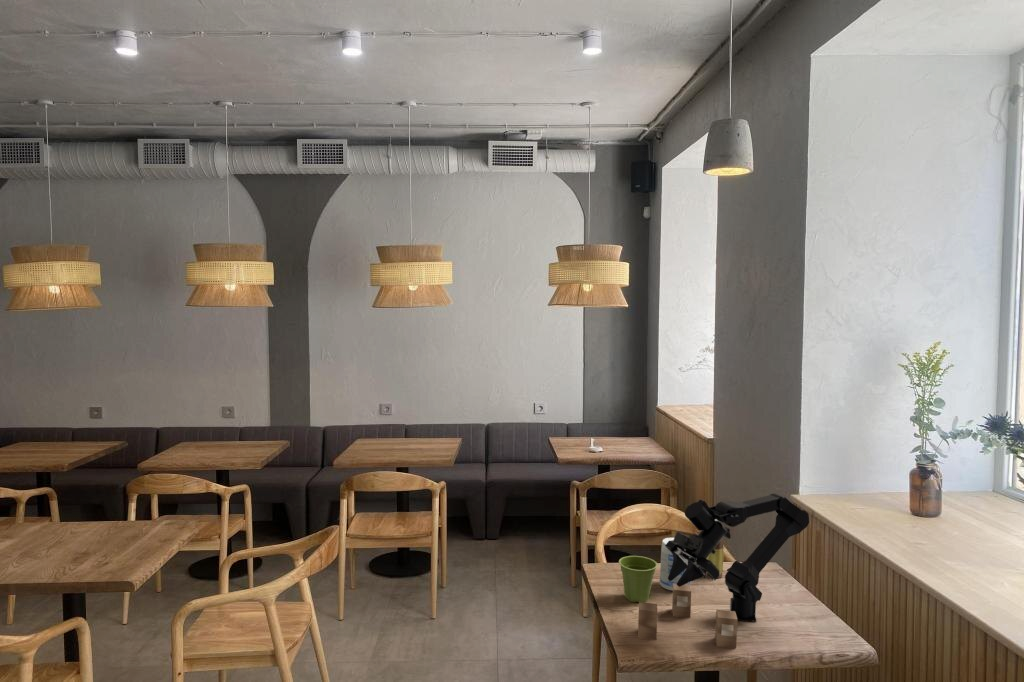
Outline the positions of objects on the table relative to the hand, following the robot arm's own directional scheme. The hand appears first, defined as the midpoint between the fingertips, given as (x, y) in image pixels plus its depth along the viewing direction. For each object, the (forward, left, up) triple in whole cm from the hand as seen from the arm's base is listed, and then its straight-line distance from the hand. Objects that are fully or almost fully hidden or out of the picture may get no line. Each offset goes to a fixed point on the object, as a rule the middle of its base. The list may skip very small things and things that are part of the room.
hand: (673, 582), depth 203 cm
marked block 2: (-14, +4, -14) cm, 20 cm away
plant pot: (+10, -20, -14) cm, 26 cm away
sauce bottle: (-15, -44, -14) cm, 48 cm away
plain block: (+7, +4, -14) cm, 16 cm away
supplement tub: (-2, -32, -14) cm, 35 cm away
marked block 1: (-3, -12, -14) cm, 18 cm away
